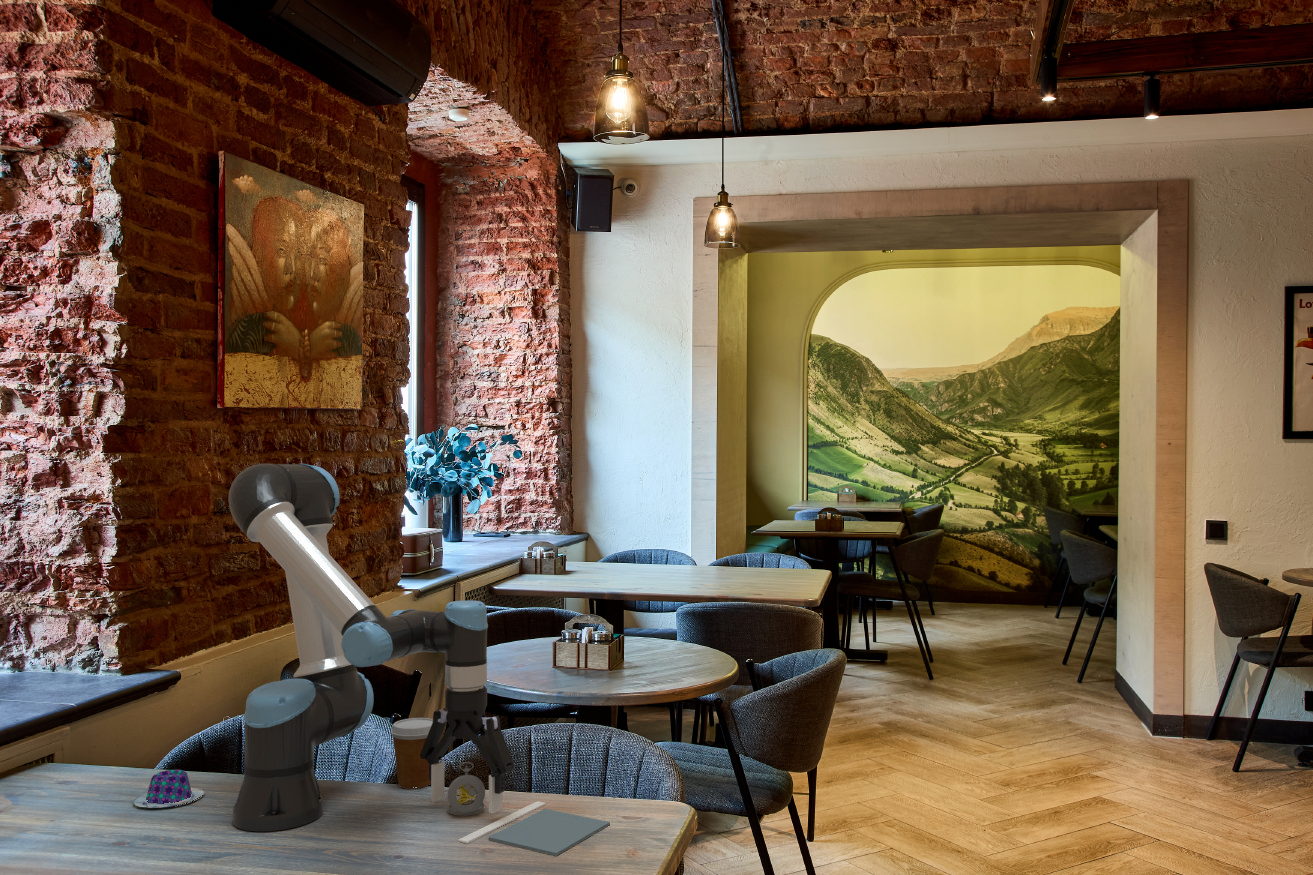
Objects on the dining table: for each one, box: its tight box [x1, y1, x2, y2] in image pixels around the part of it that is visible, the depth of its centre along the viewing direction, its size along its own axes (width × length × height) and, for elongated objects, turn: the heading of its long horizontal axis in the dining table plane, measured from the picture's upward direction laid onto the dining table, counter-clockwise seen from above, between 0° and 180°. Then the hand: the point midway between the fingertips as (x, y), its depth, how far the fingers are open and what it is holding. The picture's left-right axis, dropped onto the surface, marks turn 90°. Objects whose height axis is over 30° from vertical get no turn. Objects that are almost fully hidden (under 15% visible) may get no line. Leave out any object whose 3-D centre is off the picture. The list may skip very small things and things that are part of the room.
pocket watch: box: [446, 761, 486, 816], centre depth 173 cm, size 8×8×10 cm
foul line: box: [457, 801, 547, 845], centre depth 169 cm, size 2×22×1 cm, turn 151°
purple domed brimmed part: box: [146, 769, 205, 807], centre depth 181 cm, size 12×12×5 cm
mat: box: [487, 808, 611, 857], centre depth 164 cm, size 14×16×1 cm
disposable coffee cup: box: [390, 717, 433, 790], centre depth 190 cm, size 10×10×12 cm
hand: (466, 804), depth 173 cm, fingers open, 13 cm apart
